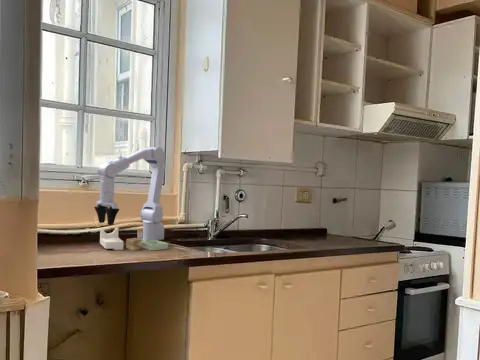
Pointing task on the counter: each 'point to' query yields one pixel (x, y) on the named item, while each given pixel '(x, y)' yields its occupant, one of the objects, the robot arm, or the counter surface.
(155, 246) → the tray
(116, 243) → the bracket
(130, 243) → the chock
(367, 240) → the counter surface
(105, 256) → the counter surface
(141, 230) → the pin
